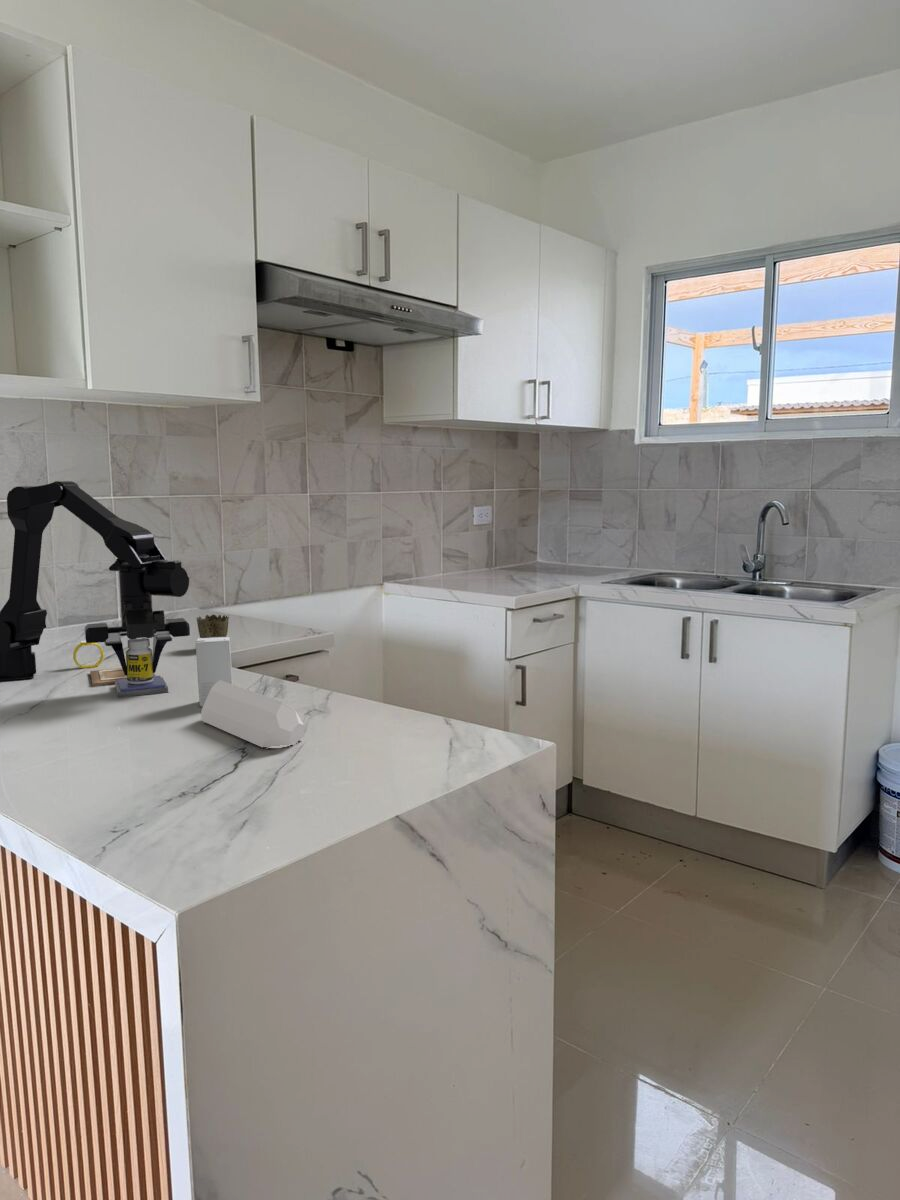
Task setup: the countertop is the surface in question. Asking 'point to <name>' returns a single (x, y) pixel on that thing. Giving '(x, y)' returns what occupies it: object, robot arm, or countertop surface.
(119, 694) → the ink pad
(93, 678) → the marked board
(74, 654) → the watch
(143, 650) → the supplement bottle
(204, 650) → the skincare box
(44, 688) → the countertop surface
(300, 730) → the crystal
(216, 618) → the cup
